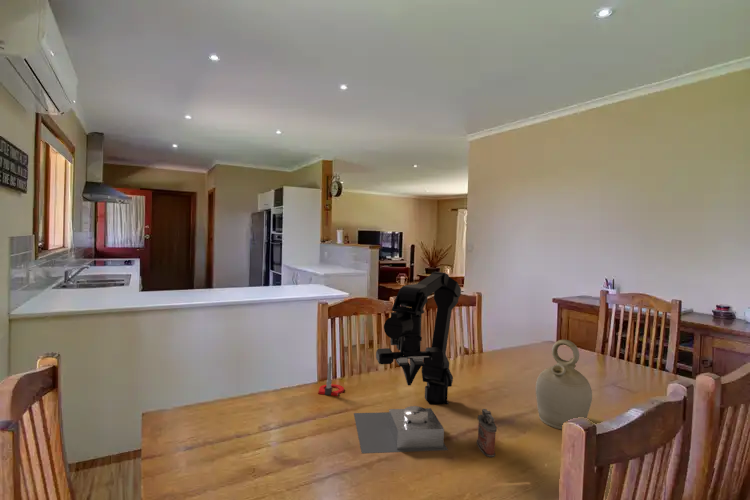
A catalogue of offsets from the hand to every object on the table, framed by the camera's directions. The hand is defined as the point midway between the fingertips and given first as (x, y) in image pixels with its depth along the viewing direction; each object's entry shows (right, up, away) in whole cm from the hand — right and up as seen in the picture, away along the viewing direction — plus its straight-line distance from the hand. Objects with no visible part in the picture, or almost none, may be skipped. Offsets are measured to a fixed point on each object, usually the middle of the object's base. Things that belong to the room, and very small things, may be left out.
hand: (409, 384), depth 116 cm
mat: (-4, -12, -4) cm, 13 cm away
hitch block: (+1, -12, -7) cm, 14 cm away
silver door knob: (+1, -11, -7) cm, 13 cm away
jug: (+46, -13, +7) cm, 49 cm away
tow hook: (-25, -10, +23) cm, 35 cm away
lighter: (+19, -13, -12) cm, 26 cm away
